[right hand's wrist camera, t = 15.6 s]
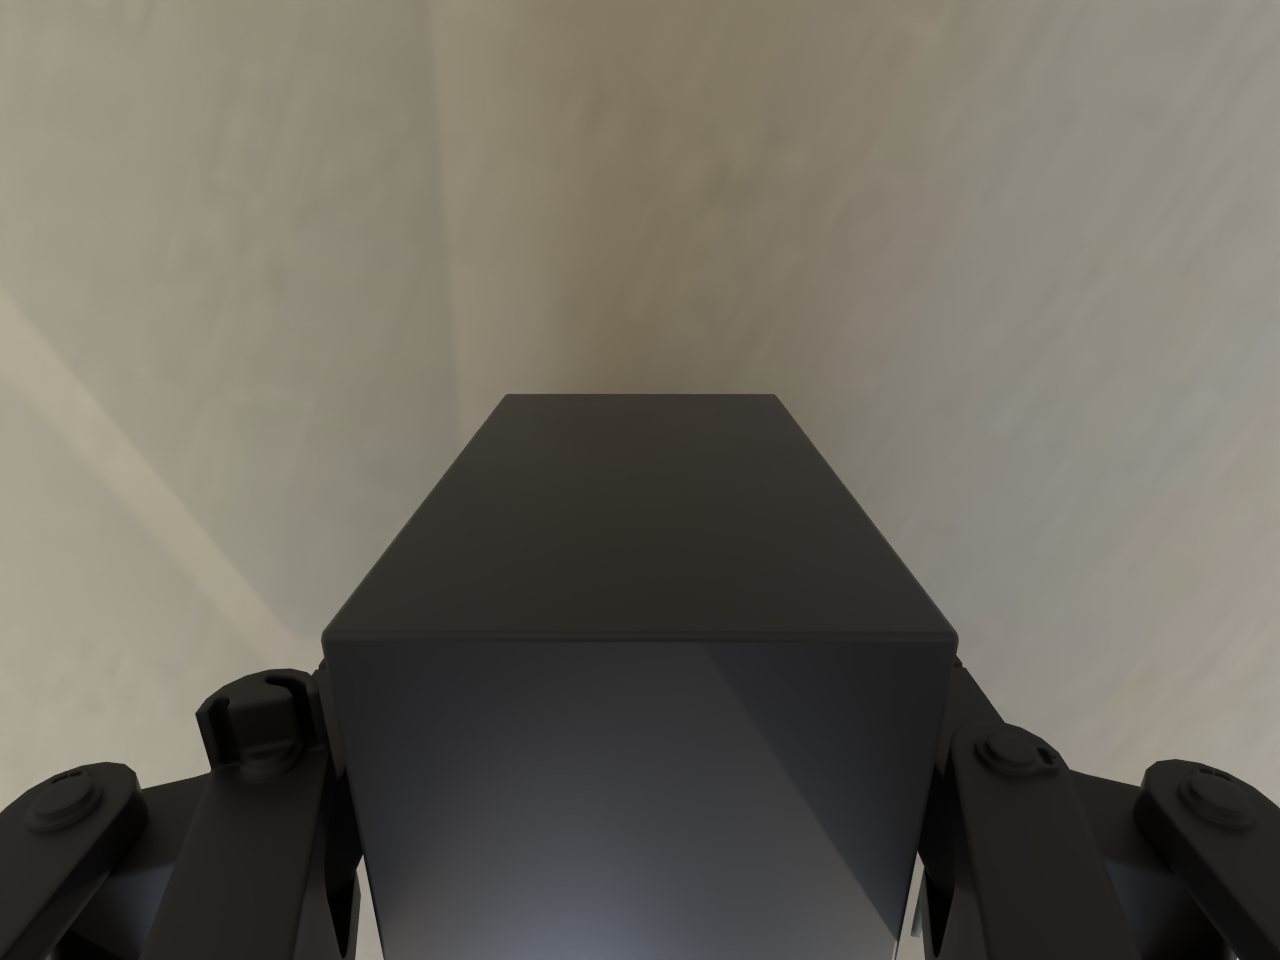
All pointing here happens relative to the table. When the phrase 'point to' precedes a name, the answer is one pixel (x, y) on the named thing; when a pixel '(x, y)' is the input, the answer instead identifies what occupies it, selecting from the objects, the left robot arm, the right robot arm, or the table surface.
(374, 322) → the table surface
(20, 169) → the table surface
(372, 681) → the bar
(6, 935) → the right robot arm
